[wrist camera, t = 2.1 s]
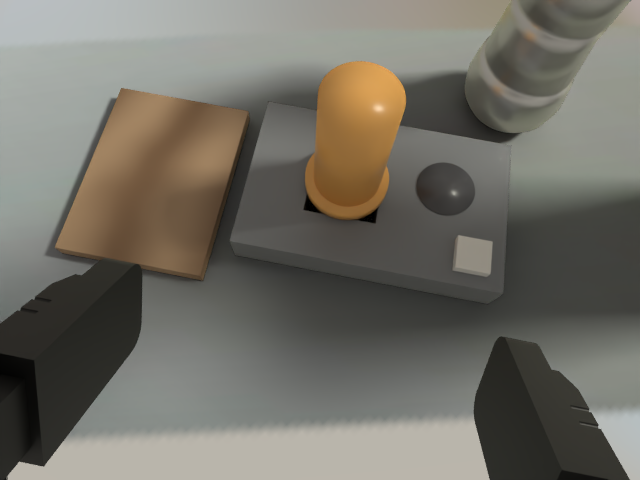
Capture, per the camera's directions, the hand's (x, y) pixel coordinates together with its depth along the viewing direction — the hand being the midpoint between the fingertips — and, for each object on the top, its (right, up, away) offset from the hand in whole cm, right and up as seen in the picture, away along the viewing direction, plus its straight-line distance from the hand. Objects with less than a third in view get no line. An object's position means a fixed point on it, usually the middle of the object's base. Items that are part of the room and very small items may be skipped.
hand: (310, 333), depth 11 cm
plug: (+2, +5, +21) cm, 22 cm away
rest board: (-10, +6, +21) cm, 24 cm away
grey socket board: (+4, +4, +21) cm, 22 cm away
